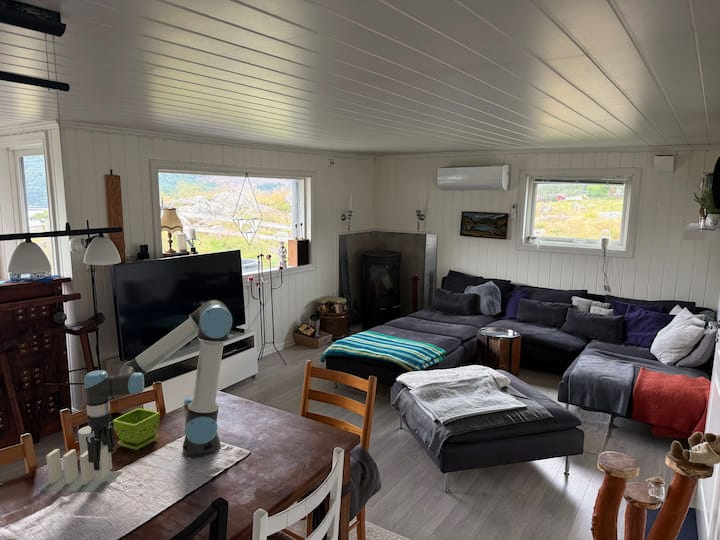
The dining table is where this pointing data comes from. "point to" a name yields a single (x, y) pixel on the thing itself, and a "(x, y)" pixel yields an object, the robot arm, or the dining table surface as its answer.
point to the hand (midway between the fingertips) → (103, 472)
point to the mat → (77, 486)
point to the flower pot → (137, 428)
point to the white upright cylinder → (84, 438)
